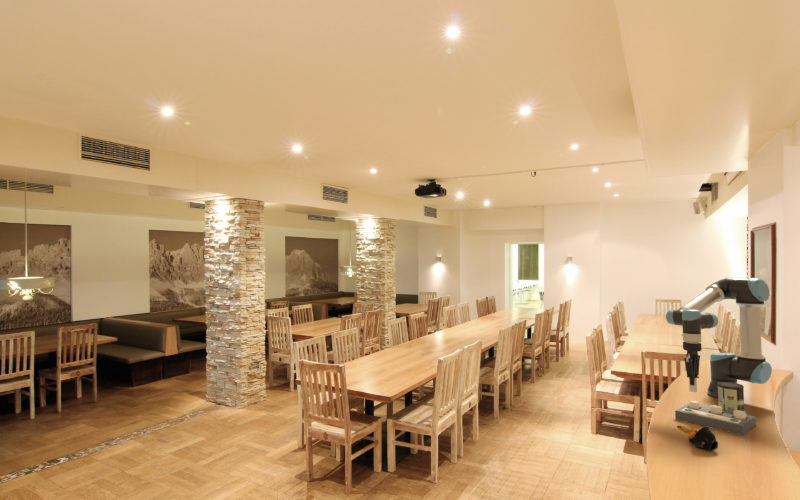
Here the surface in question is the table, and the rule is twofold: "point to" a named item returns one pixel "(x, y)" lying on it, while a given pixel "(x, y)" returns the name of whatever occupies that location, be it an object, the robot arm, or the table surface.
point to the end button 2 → (740, 414)
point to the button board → (716, 419)
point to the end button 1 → (694, 405)
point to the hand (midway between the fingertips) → (693, 391)
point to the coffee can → (731, 396)
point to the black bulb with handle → (701, 437)
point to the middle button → (716, 409)
